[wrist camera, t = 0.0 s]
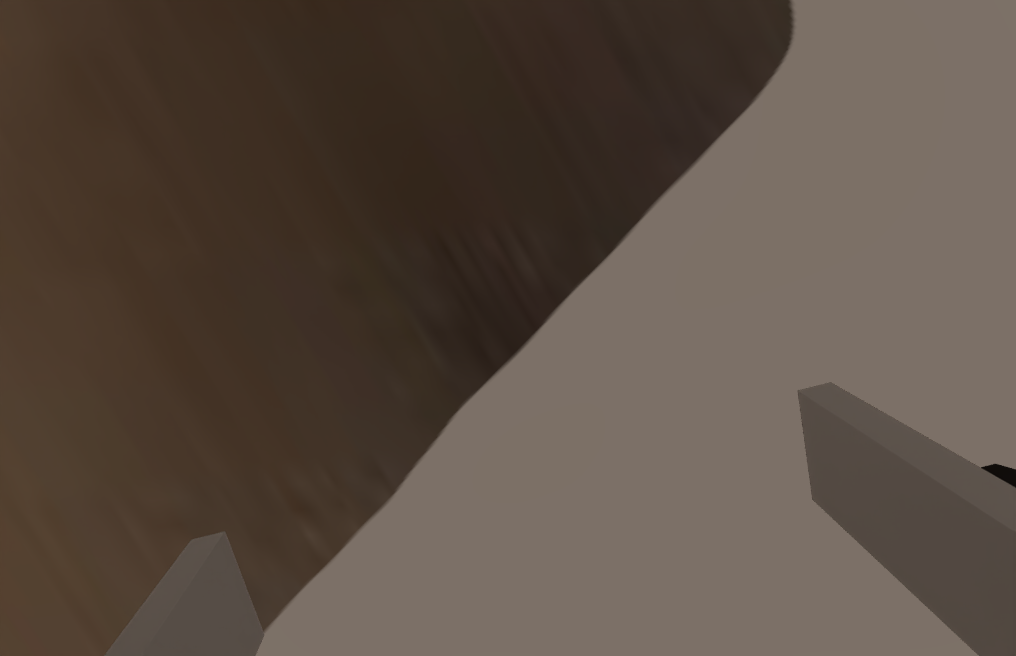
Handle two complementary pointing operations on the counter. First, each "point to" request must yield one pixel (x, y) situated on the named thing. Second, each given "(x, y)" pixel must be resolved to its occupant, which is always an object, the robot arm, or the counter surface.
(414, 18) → the counter surface
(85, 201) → the counter surface
